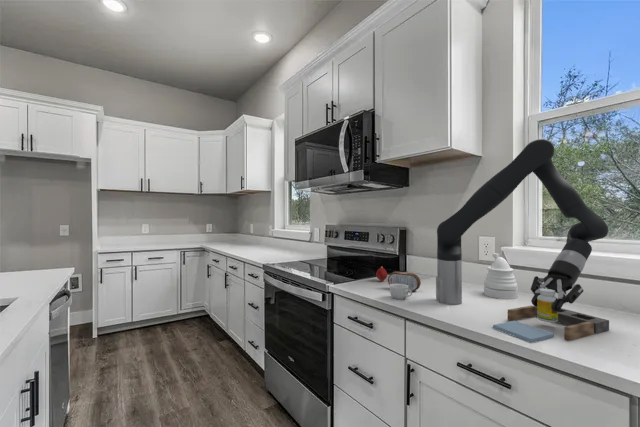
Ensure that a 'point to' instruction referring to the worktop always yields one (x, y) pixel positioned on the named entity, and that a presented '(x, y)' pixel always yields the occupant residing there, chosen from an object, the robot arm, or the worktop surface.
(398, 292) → the teacup
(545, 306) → the supplement bottle
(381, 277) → the onion
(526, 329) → the pad
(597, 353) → the worktop surface
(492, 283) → the honey pot
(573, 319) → the channel
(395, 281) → the tin
